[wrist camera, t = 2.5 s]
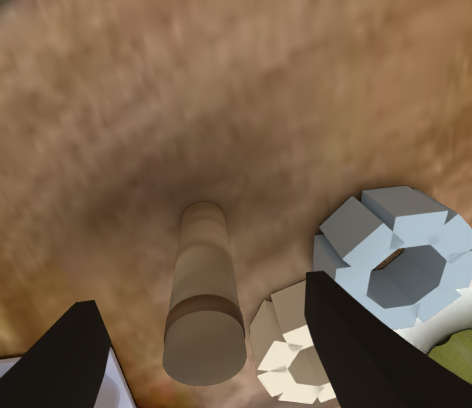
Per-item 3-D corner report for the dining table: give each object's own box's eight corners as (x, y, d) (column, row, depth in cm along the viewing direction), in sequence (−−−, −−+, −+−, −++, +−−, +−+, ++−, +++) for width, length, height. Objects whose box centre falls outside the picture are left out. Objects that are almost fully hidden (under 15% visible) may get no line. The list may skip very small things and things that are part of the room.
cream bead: (275, 372, 22) (285, 415, 19) (234, 309, 18) (239, 351, 16) (369, 335, 21) (393, 375, 18) (345, 263, 18) (370, 299, 15)
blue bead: (310, 299, 19) (328, 339, 16) (316, 195, 15) (341, 223, 13) (420, 284, 19) (455, 320, 17) (450, 180, 16) (500, 204, 13)
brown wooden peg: (184, 243, 16) (169, 392, 9) (176, 203, 15) (152, 336, 8) (228, 238, 16) (250, 380, 9) (224, 198, 15) (245, 323, 8)
